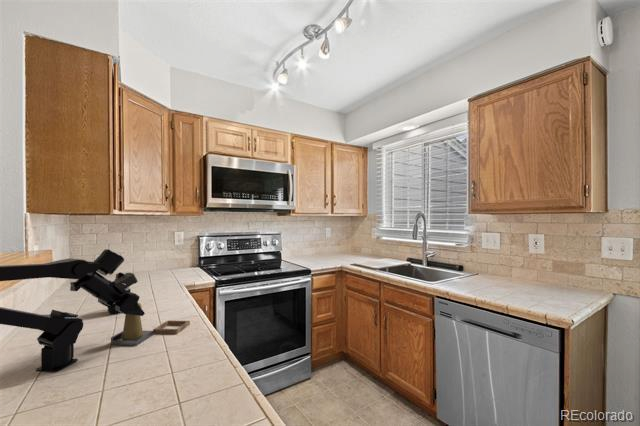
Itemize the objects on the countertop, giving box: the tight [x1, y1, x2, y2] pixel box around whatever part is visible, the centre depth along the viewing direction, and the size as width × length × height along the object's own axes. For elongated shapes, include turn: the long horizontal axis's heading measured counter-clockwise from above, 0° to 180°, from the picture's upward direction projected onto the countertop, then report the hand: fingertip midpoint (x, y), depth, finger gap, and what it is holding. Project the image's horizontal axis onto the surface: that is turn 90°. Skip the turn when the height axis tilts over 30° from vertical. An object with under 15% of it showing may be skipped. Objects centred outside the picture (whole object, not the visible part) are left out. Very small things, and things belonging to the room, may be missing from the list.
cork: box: [122, 302, 144, 339], centre depth 99 cm, size 6×6×11 cm
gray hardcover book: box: [110, 330, 154, 346], centre depth 99 cm, size 8×9×2 cm
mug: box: [107, 286, 131, 315], centre depth 130 cm, size 12×9×10 cm
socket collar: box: [152, 320, 191, 335], centre depth 108 cm, size 9×9×2 cm
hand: (137, 312), depth 100 cm, fingers open, 9 cm apart
